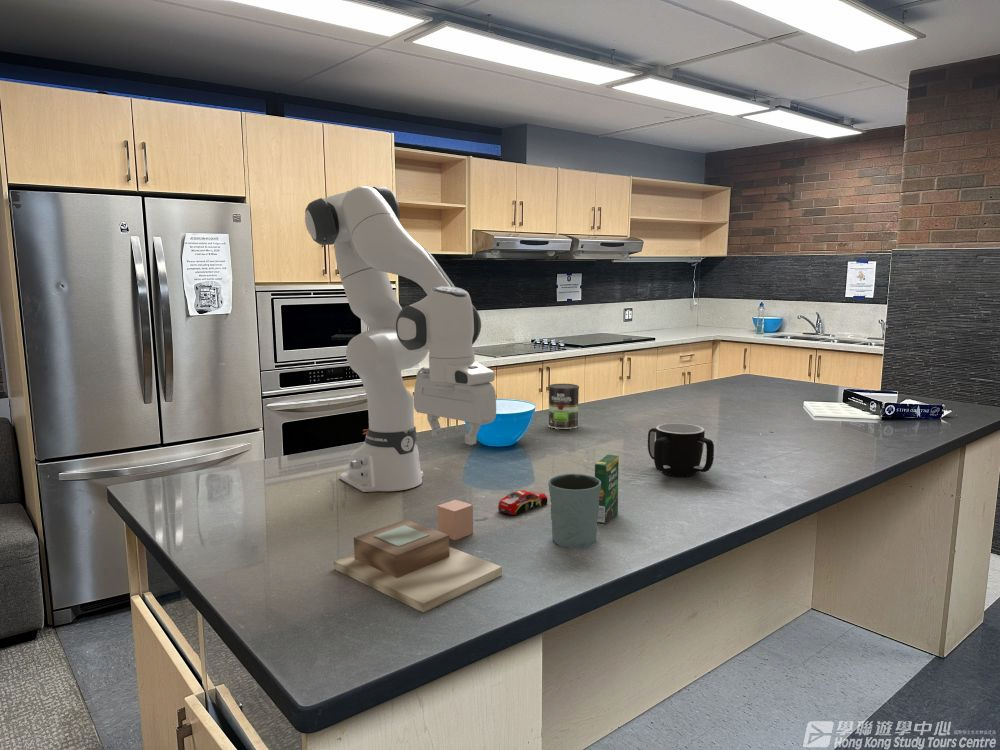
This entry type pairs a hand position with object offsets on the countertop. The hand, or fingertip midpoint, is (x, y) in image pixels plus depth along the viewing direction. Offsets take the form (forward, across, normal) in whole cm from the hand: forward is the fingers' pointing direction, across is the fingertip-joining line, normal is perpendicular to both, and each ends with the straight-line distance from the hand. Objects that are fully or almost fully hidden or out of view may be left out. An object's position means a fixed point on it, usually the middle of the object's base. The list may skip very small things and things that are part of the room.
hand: (453, 440), depth 136 cm
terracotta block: (+19, 0, 0) cm, 19 cm away
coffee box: (+20, +18, +27) cm, 38 cm away
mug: (+20, +13, +68) cm, 72 cm away
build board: (+19, +8, -17) cm, 27 cm away
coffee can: (+19, -43, +92) cm, 103 cm away
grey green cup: (+20, +20, +13) cm, 31 cm away
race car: (+20, 0, +21) cm, 29 cm away
